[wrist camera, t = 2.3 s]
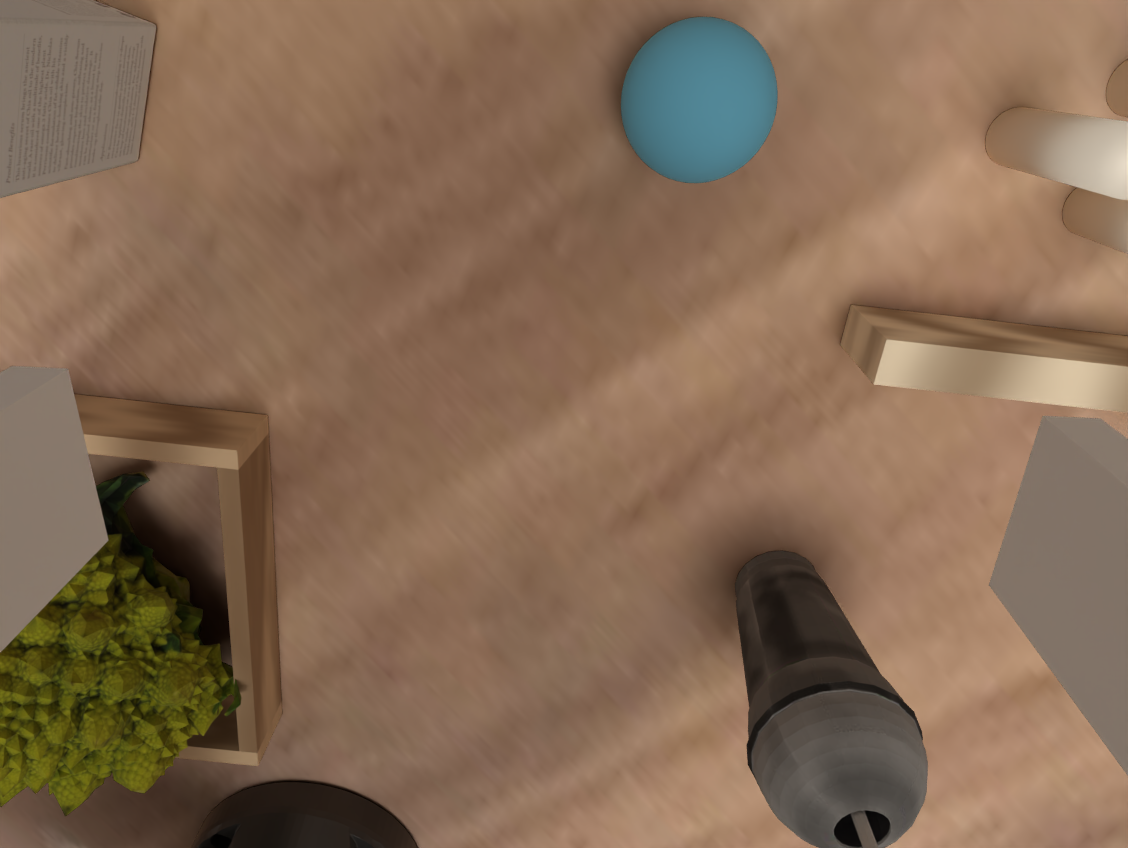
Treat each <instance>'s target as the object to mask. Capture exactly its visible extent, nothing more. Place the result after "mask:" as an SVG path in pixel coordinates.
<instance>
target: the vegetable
mask: <svg viewBox="0 0 1128 848" xmlns="http://www.w3.org/2000/svg"><path fill="white" fill-rule="evenodd" d="M148 481H150V480H149V478H148V477H147V476H146V474H145V473H144V472H136V473H128V474H123V475H120V476H118V477H115V478H113V479H110V480H108V481H105V482H103V483H101V484H99V485H97V486H96V490H97V494H98V498H99V502H100V506H101V511H102V515H103V519H104V523H105V528H106V532H107V536H108V541H107V542H106V543H105V544H104V546H103V547H102V548H101V549H100V550H99V551H98V552H97V553H96V554H95V555H94V556H93V557H92V558H91V559H90V560H89V561H88V562H87V563H86V564H85V565H84V566H83V567H82V568H81V569H80V570H79V571H78V572H77V574H76V575H75V576H74V577H73V578H72V579H71V580H70V581H69V582H68V583H67V584H66V585H65V586H64V587H63V588H62V589H61V590H60V591H59V592H58V593H57V594H56V595H55V596H54V597H53V598H52V599H51V601H50V602H49V603H48V604H47V605H46V606H45V607H44V608H43V609H42V610H41V611H40V612H39V613H38V614H37V615H36V616H35V617H34V618H33V619H32V620H31V621H30V622H29V623H28V624H27V625H26V626H25V627H24V629H23V630H22V631H21V632H20V633H19V634H18V635H17V636H16V637H15V638H14V639H13V640H12V641H11V642H10V643H9V644H8V645H7V646H6V647H5V648H4V649H3V650H2V651H1V652H0V807H2V806H3V805H4V804H5V803H7V802H8V801H9V800H10V799H11V798H13V797H14V796H15V795H16V794H18V793H19V792H20V791H22V790H23V789H25V788H26V787H28V786H29V787H30V788H31V789H32V790H33V792H34V793H35V794H36V793H37V792H38V791H39V790H40V789H41V788H42V787H43V786H44V785H45V784H46V783H48V785H49V795H50V794H52V793H54V795H55V797H56V799H57V801H58V803H59V805H60V807H61V809H62V811H63V813H64V815H65V816H67V815H68V814H69V813H70V812H72V811H73V810H74V809H76V808H77V807H78V806H80V805H81V804H82V803H83V802H84V801H85V800H87V799H88V798H89V796H90V795H91V794H92V792H93V791H94V790H95V789H96V788H98V787H99V786H101V785H102V784H104V780H105V777H110V775H111V773H113V778H114V781H116V782H118V783H119V784H121V785H123V786H124V787H126V788H127V789H129V790H130V791H134V792H139V793H145V792H146V791H147V790H149V789H150V788H151V787H152V786H153V785H154V783H155V782H156V781H157V779H158V778H159V776H162V775H165V770H166V769H167V768H168V767H169V766H173V760H174V759H175V757H179V752H180V751H182V750H183V749H185V748H187V747H188V745H187V739H189V738H191V737H192V736H193V735H199V733H200V734H201V735H202V736H204V734H205V733H206V731H207V730H208V728H209V727H210V725H211V724H212V722H213V721H214V720H215V719H216V718H217V717H218V715H219V714H220V712H221V711H222V709H223V706H222V701H223V700H224V699H226V698H227V697H228V696H229V695H231V694H232V695H233V696H234V701H233V703H232V704H231V705H230V707H229V708H228V710H227V711H226V712H225V714H224V715H225V716H226V717H227V716H228V715H229V714H231V713H232V712H233V711H234V710H235V709H236V708H237V707H239V706H240V705H241V694H240V691H239V688H238V685H237V681H236V679H235V683H234V677H233V667H232V666H230V665H228V664H226V663H224V662H222V661H221V650H220V644H212V645H204V644H203V643H202V641H201V639H200V637H199V634H200V630H201V626H200V623H201V620H202V614H203V609H200V608H196V607H194V606H193V605H192V604H191V603H190V587H189V582H188V580H187V579H186V578H184V577H180V576H176V575H174V574H173V573H172V572H170V571H169V570H168V569H166V568H165V567H164V566H163V565H162V564H160V563H159V562H158V561H157V560H156V559H155V558H153V557H152V554H153V549H151V548H148V547H146V546H144V545H142V544H141V543H140V541H139V540H138V539H137V537H136V536H135V534H134V531H133V529H132V526H131V524H130V521H129V519H128V516H127V514H126V511H125V509H124V506H123V504H124V503H125V502H126V500H127V499H128V498H129V496H130V495H131V494H132V493H133V491H134V490H135V489H137V488H138V487H140V486H142V485H143V484H145V483H147V482H148ZM198 732H199V733H198Z"/></svg>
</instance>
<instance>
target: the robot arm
mask: <svg viewBox="0 0 1128 848" xmlns="http://www.w3.org/2000/svg"><path fill="white" fill-rule="evenodd" d="M107 541H108V536H107V532H106V528H105V523H104V519H103V515H102V511H101V506H100V502H99V498H98V494H97V490H96V485H95V481H94V477H93V473H92V468H91V464H90V460H89V456H88V451H87V447H86V443H85V439H84V434H83V430H82V426H81V422H80V417H79V413H78V409H77V405H76V400H75V396H74V392H73V388H72V383H71V379H70V375H69V371H68V369H65V368H44V367H23V366H11V367H9V368H7V369H6V370H4V371H2V372H0V652H1V651H2V650H3V649H4V648H5V647H6V646H7V645H8V644H9V643H10V642H11V641H12V640H13V639H14V638H15V637H16V636H17V635H18V634H19V633H20V632H21V631H22V630H23V629H24V627H25V626H26V625H27V624H28V623H29V622H30V621H31V620H32V619H33V618H34V617H35V616H36V615H37V614H38V613H39V612H40V611H41V610H42V609H43V608H44V607H45V606H46V605H47V604H48V603H49V602H50V601H51V599H52V598H53V597H54V596H55V595H56V594H57V593H58V592H59V591H60V590H61V589H62V588H63V587H64V586H65V585H66V584H67V583H68V582H69V581H70V580H71V579H72V578H73V577H74V576H75V575H76V574H77V572H78V571H79V570H80V569H81V568H82V567H83V566H84V565H85V564H86V563H87V562H88V561H89V560H90V559H91V558H92V557H93V556H94V555H95V554H96V553H97V552H98V551H99V550H100V549H101V548H102V547H103V546H104V544H105V543H106V542H107ZM989 586H990V587H991V589H992V590H993V591H994V593H995V594H996V595H997V597H998V598H999V600H1000V601H1001V602H1002V604H1003V605H1004V606H1005V608H1006V609H1007V610H1008V612H1009V613H1010V615H1011V616H1012V617H1013V619H1014V620H1015V621H1016V623H1017V624H1018V626H1019V627H1020V628H1021V630H1022V631H1023V632H1024V634H1025V635H1026V637H1027V638H1028V639H1029V641H1030V642H1031V643H1032V645H1033V646H1034V648H1035V649H1036V650H1037V652H1038V653H1039V654H1040V656H1041V657H1042V659H1043V660H1044V661H1045V663H1046V664H1047V665H1048V667H1049V668H1050V670H1051V671H1052V672H1053V674H1054V675H1055V676H1056V678H1057V679H1058V681H1059V682H1060V683H1061V685H1062V686H1063V687H1064V689H1065V690H1066V692H1067V693H1068V694H1069V696H1070V697H1071V698H1072V700H1073V701H1074V703H1075V704H1076V705H1077V707H1078V708H1079V709H1080V711H1081V712H1082V714H1083V715H1084V716H1085V718H1086V719H1087V720H1088V722H1089V723H1090V725H1091V726H1092V727H1093V729H1094V730H1095V731H1096V733H1097V734H1098V735H1099V737H1100V738H1101V740H1102V741H1103V742H1104V744H1105V745H1106V746H1107V748H1108V749H1109V751H1110V752H1111V753H1112V755H1113V756H1114V757H1115V759H1116V760H1117V762H1118V763H1119V764H1120V766H1121V767H1122V768H1123V770H1124V771H1125V773H1126V774H1127V775H1128V439H1127V438H1126V437H1124V436H1123V435H1122V434H1120V433H1119V432H1118V431H1116V430H1115V429H1114V428H1112V427H1111V426H1110V425H1108V424H1107V423H1106V422H1104V421H1103V420H1102V419H1099V418H1079V417H1058V416H1043V417H1042V420H1041V423H1040V426H1039V429H1038V432H1037V435H1036V439H1035V442H1034V445H1033V448H1032V451H1031V454H1030V457H1029V461H1028V464H1027V467H1026V470H1025V473H1024V476H1023V479H1022V482H1021V486H1020V489H1019V492H1018V495H1017V498H1016V501H1015V504H1014V508H1013V511H1012V514H1011V517H1010V520H1009V523H1008V526H1007V530H1006V533H1005V536H1004V539H1003V542H1002V545H1001V548H1000V551H999V555H998V558H997V561H996V564H995V567H994V570H993V573H992V577H991V580H990V583H989ZM191 848H417V846H416V844H415V842H414V841H413V839H412V837H411V836H410V835H409V833H408V832H407V831H406V829H405V828H404V827H403V826H402V825H401V824H400V823H399V822H398V821H397V820H396V819H395V818H394V817H392V816H391V815H390V814H389V813H387V812H386V811H385V810H383V809H382V808H380V807H378V806H377V805H375V804H374V803H372V802H370V801H368V800H366V799H364V798H362V797H360V796H357V795H355V794H352V793H350V792H347V791H344V790H341V789H337V788H333V787H329V786H325V785H319V784H312V783H301V782H282V783H272V784H265V785H261V786H256V787H253V788H249V789H246V790H244V791H241V792H239V793H237V794H234V795H233V796H231V797H229V798H227V799H226V800H224V801H223V802H221V803H220V804H219V805H218V806H217V807H215V808H214V809H213V810H212V812H211V813H210V814H209V815H208V816H207V818H206V819H205V821H204V823H203V825H202V827H201V829H200V831H199V833H198V835H197V837H196V839H195V841H194V843H193V845H192V847H191Z"/></svg>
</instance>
